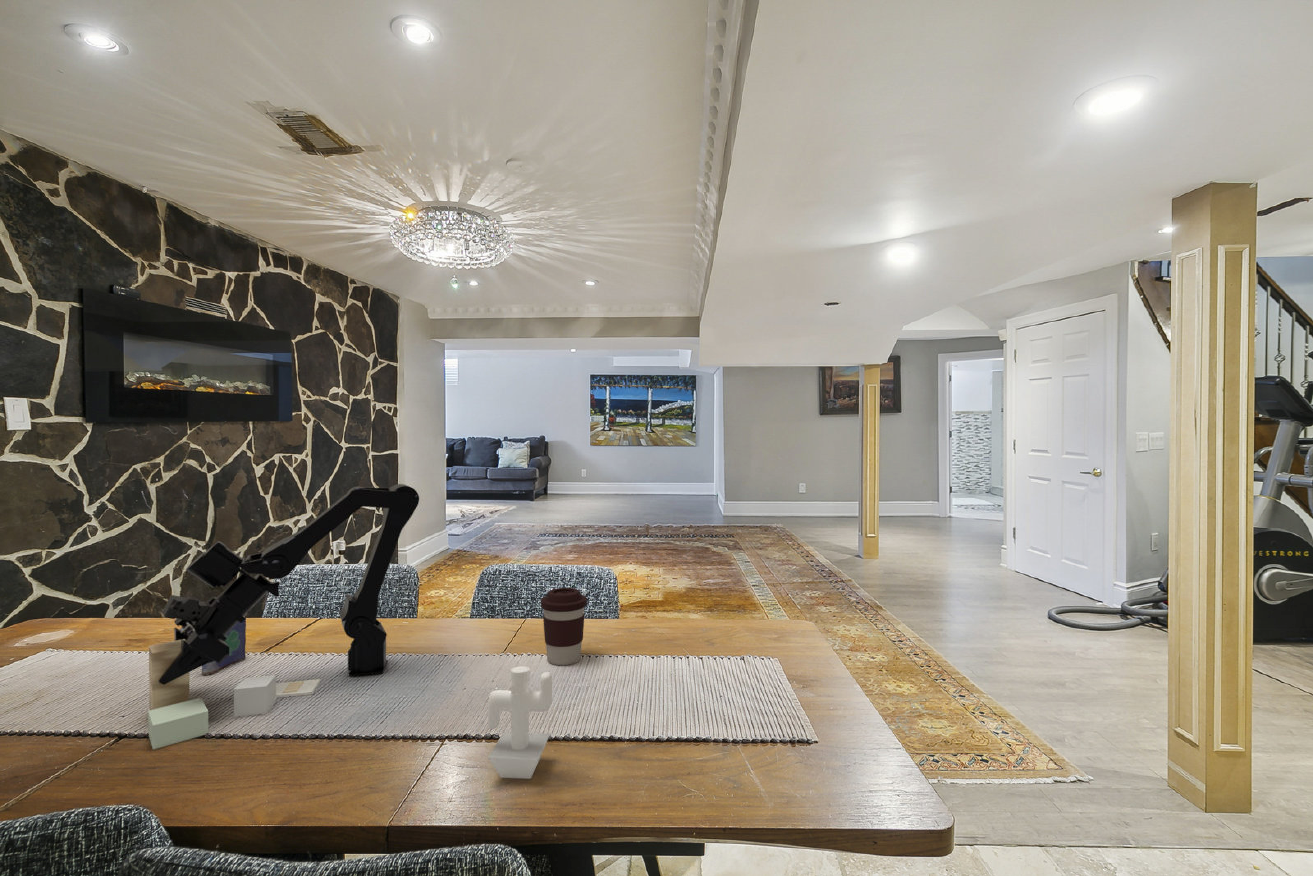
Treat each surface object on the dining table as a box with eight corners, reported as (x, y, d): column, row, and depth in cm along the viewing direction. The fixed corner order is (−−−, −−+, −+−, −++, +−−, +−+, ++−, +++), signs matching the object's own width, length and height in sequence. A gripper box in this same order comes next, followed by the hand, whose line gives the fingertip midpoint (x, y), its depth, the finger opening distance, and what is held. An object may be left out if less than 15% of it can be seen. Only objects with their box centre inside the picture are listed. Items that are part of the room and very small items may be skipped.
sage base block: (201, 720, 103) (200, 697, 103) (208, 735, 98) (208, 711, 98) (148, 735, 98) (148, 710, 98) (153, 751, 94) (152, 725, 93)
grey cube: (276, 702, 110) (276, 675, 110) (266, 714, 105) (266, 686, 105) (245, 705, 109) (245, 677, 109) (233, 717, 104) (233, 689, 104)
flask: (209, 676, 121) (209, 619, 121) (196, 675, 122) (195, 619, 122) (249, 658, 131) (249, 605, 131) (237, 657, 132) (236, 605, 132)
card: (320, 681, 119) (320, 678, 119) (312, 694, 113) (312, 690, 113) (275, 686, 117) (275, 682, 117) (264, 699, 111) (264, 695, 111)
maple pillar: (185, 704, 109) (184, 638, 109) (189, 713, 105) (189, 645, 105) (149, 713, 105) (148, 645, 105) (152, 723, 102) (152, 653, 102)
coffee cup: (565, 672, 124) (565, 600, 123) (531, 662, 129) (531, 592, 129) (596, 657, 132) (596, 589, 132) (562, 648, 137) (562, 583, 137)
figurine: (496, 755, 92) (496, 658, 92) (557, 757, 91) (557, 659, 91) (480, 783, 85) (479, 677, 84) (545, 785, 84) (545, 679, 84)
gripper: (188, 569, 114) (111, 641, 107) (205, 587, 101) (118, 670, 94) (238, 602, 120) (168, 672, 112) (260, 623, 107) (182, 704, 99)
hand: (159, 678), depth 104 cm, fingers closed on maple pillar, 5 cm apart
